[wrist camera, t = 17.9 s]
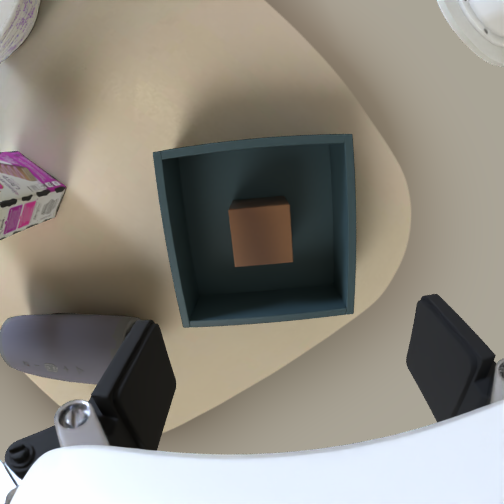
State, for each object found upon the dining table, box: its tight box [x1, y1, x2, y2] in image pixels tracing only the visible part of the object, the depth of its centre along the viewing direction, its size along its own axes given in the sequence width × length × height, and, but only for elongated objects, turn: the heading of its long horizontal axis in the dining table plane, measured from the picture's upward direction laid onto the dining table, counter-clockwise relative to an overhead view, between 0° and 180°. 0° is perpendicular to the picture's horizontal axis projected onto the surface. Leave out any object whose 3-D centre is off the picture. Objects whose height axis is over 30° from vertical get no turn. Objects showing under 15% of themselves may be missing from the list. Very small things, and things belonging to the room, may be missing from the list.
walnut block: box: [228, 196, 293, 267], centre depth 31 cm, size 6×6×6 cm
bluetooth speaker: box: [0, 313, 141, 384], centre depth 34 cm, size 23×9×10 cm, turn 96°
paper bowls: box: [0, 0, 40, 64], centre depth 20 cm, size 15×15×8 cm
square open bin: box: [153, 134, 356, 328], centre depth 31 cm, size 18×18×7 cm
